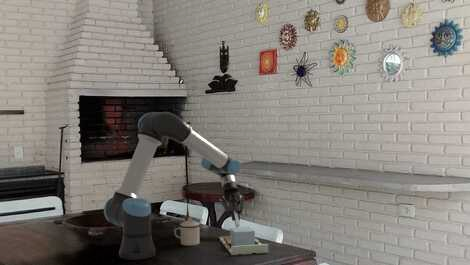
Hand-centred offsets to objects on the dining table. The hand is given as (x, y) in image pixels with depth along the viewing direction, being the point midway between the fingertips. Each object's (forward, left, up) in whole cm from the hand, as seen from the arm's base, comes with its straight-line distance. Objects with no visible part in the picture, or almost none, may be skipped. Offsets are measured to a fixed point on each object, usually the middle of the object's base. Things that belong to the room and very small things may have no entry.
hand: (237, 225), depth 240 cm
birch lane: (+10, -9, -6) cm, 14 cm away
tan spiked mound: (-39, +6, -7) cm, 41 cm away
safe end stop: (+20, -17, -6) cm, 27 cm away
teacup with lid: (-13, -21, -7) cm, 26 cm away
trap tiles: (+2, -3, -6) cm, 7 cm away
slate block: (+10, -9, -6) cm, 14 cm away
